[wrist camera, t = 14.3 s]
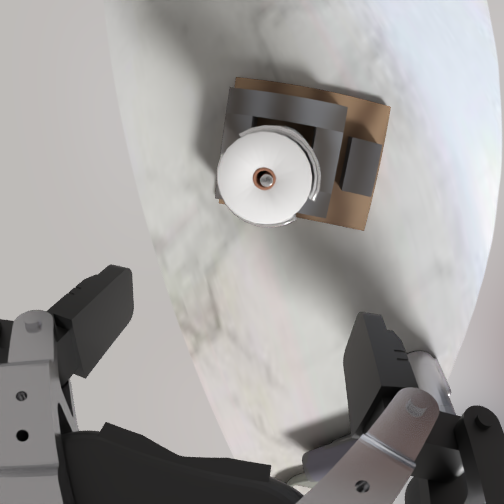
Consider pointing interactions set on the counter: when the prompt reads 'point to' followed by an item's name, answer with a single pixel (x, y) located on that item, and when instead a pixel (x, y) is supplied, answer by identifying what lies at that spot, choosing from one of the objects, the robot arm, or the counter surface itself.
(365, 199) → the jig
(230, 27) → the counter surface
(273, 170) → the paper towel roll
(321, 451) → the bluetooth speaker
